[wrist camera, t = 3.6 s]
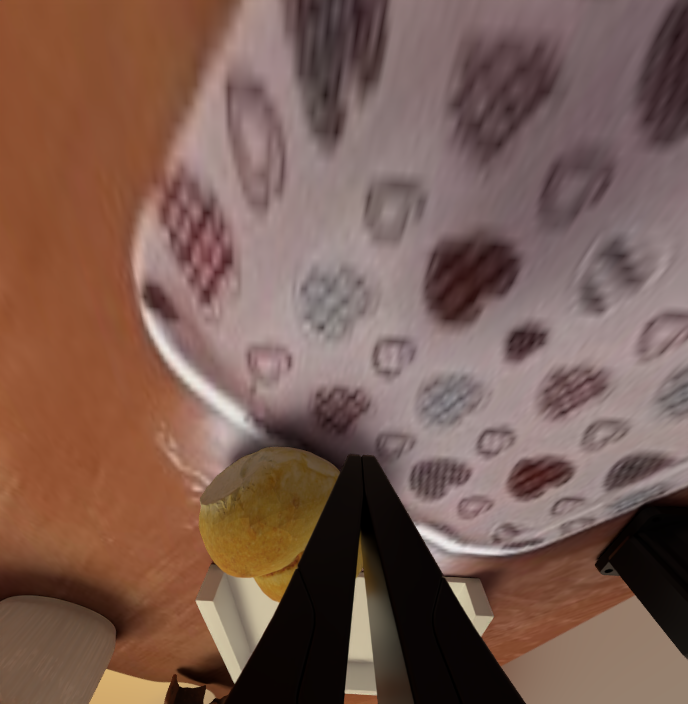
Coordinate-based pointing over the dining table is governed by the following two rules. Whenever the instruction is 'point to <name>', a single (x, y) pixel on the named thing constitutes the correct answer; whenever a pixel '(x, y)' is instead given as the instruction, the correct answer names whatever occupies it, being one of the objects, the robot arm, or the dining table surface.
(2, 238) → the dining table surface
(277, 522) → the bread roll
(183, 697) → the pottery mug
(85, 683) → the ramekin
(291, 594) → the robot arm
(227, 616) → the tray
